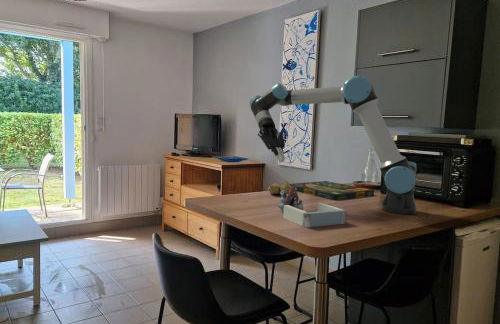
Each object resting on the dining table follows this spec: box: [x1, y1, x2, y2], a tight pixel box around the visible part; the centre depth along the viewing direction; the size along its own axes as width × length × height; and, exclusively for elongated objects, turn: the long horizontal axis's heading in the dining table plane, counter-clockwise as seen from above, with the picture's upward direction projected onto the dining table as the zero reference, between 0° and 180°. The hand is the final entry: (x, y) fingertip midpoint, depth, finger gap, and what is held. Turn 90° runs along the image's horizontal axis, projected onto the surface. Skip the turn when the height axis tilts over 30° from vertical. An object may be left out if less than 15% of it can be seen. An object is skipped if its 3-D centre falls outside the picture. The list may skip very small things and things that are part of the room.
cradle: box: [282, 202, 347, 228], centre depth 147 cm, size 15×19×5 cm
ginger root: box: [267, 180, 292, 195], centre depth 201 cm, size 16×16×8 cm
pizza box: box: [289, 180, 375, 201], centre depth 216 cm, size 35×35×4 cm
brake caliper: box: [276, 186, 304, 212], centre depth 161 cm, size 11×11×12 cm
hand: (282, 160), depth 167 cm, fingers closed
